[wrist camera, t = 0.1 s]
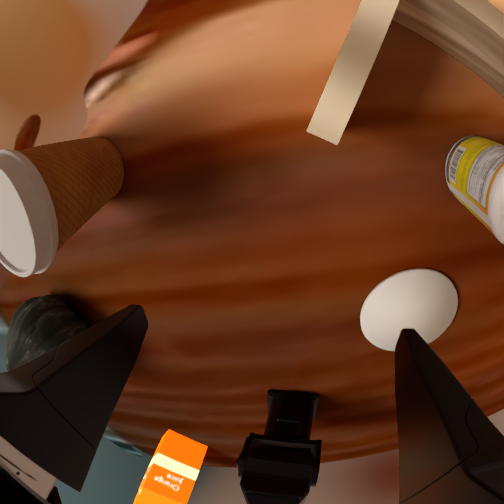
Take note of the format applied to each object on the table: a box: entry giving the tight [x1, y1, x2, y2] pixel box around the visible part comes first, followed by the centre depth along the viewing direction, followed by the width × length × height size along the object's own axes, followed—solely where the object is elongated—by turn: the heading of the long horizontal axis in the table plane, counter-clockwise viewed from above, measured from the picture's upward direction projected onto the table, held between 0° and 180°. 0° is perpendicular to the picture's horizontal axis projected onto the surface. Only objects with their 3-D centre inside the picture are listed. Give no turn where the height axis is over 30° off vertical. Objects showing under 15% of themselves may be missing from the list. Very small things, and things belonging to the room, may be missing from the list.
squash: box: [6, 295, 88, 371], centre depth 33 cm, size 14×15×15 cm
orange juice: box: [134, 429, 208, 504], centre depth 44 cm, size 8×9×20 cm
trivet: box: [360, 268, 458, 351], centre depth 25 cm, size 10×10×1 cm
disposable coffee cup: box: [0, 137, 124, 277], centre depth 19 cm, size 10×10×12 cm
